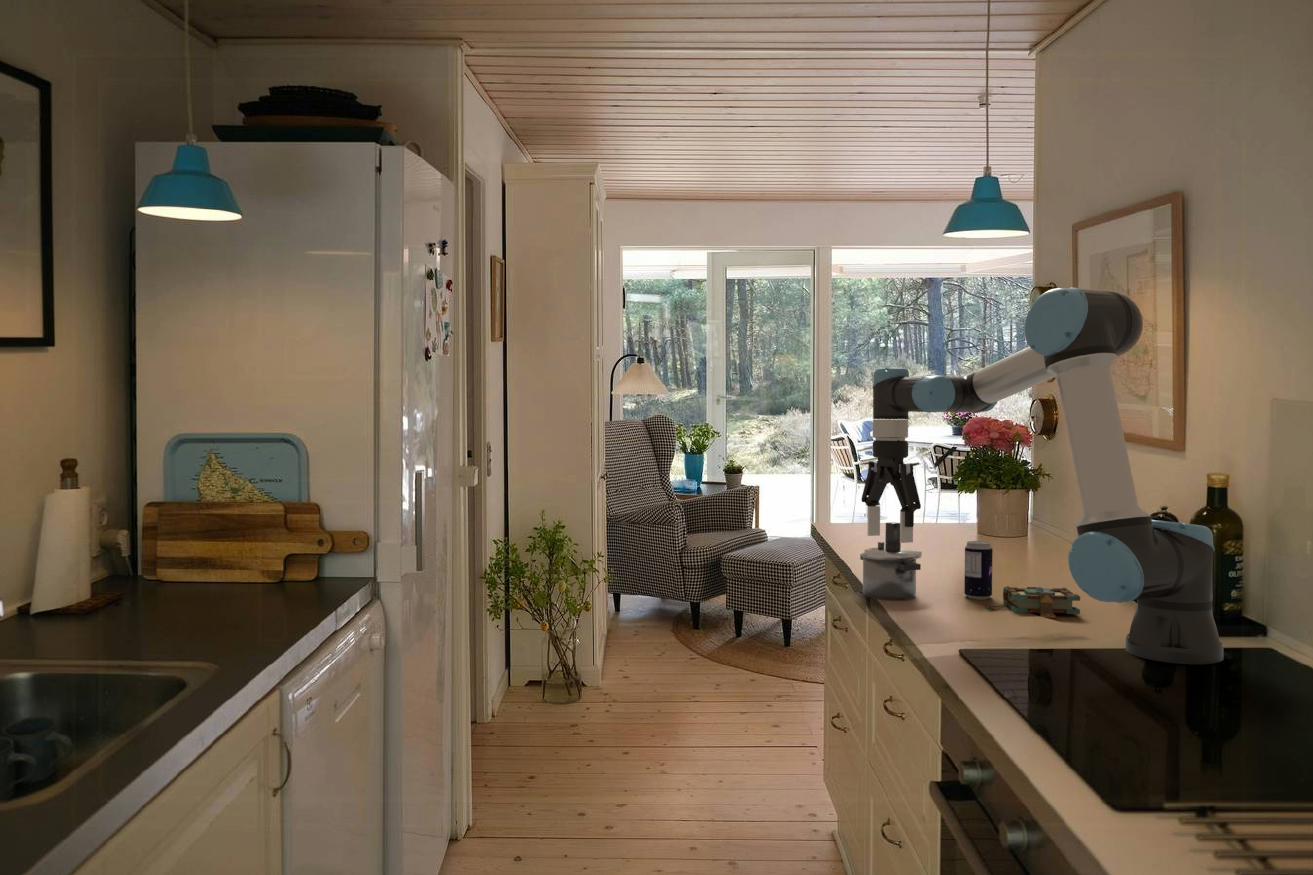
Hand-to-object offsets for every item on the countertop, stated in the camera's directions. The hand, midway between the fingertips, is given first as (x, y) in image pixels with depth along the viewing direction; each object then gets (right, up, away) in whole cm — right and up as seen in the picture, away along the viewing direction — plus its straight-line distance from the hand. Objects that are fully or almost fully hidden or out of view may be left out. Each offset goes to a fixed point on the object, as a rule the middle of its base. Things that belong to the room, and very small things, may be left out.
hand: (889, 539), depth 221 cm
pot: (0, -12, 0) cm, 12 cm away
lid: (0, -3, -1) cm, 4 cm away
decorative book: (+25, -13, -14) cm, 32 cm away
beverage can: (+19, -13, -2) cm, 23 cm away
